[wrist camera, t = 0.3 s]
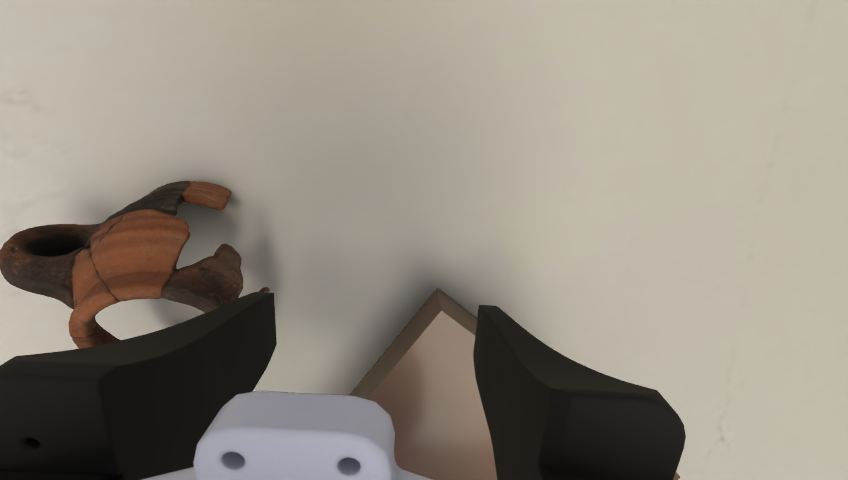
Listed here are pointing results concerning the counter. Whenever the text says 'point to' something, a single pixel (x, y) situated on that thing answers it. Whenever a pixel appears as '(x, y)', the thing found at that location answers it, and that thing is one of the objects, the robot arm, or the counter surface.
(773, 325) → the counter surface
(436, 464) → the step shelf
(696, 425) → the counter surface
